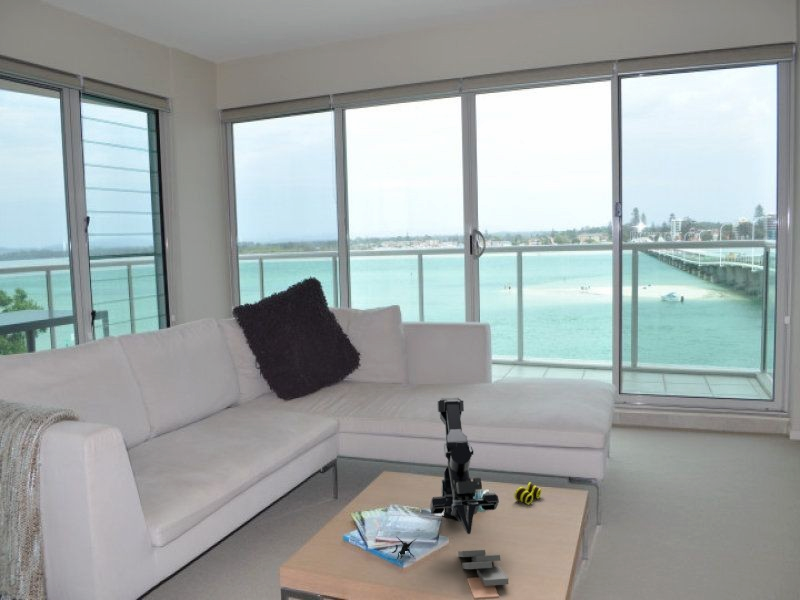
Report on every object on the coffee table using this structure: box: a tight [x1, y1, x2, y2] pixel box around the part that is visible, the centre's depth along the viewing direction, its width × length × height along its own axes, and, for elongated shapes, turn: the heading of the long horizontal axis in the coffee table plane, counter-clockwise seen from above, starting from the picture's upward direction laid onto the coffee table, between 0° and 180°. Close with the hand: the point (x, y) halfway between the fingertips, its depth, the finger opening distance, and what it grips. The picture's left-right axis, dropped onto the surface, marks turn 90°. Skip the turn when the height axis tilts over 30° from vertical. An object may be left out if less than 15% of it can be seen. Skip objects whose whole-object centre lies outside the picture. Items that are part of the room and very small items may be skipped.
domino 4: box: [476, 566, 509, 586], centre depth 166 cm, size 1×6×9 cm
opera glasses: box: [513, 481, 542, 505], centre depth 218 cm, size 10×5×5 cm, turn 138°
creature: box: [391, 535, 417, 560], centre depth 179 cm, size 8×5×8 cm
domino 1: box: [457, 549, 487, 558], centre depth 175 cm, size 1×6×9 cm
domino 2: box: [462, 561, 493, 570], centre depth 168 cm, size 1×6×9 cm
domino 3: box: [471, 554, 501, 562], centre depth 172 cm, size 1×6×9 cm
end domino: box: [466, 576, 500, 600], centre depth 162 cm, size 1×6×9 cm
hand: (469, 533), depth 178 cm, fingers closed
